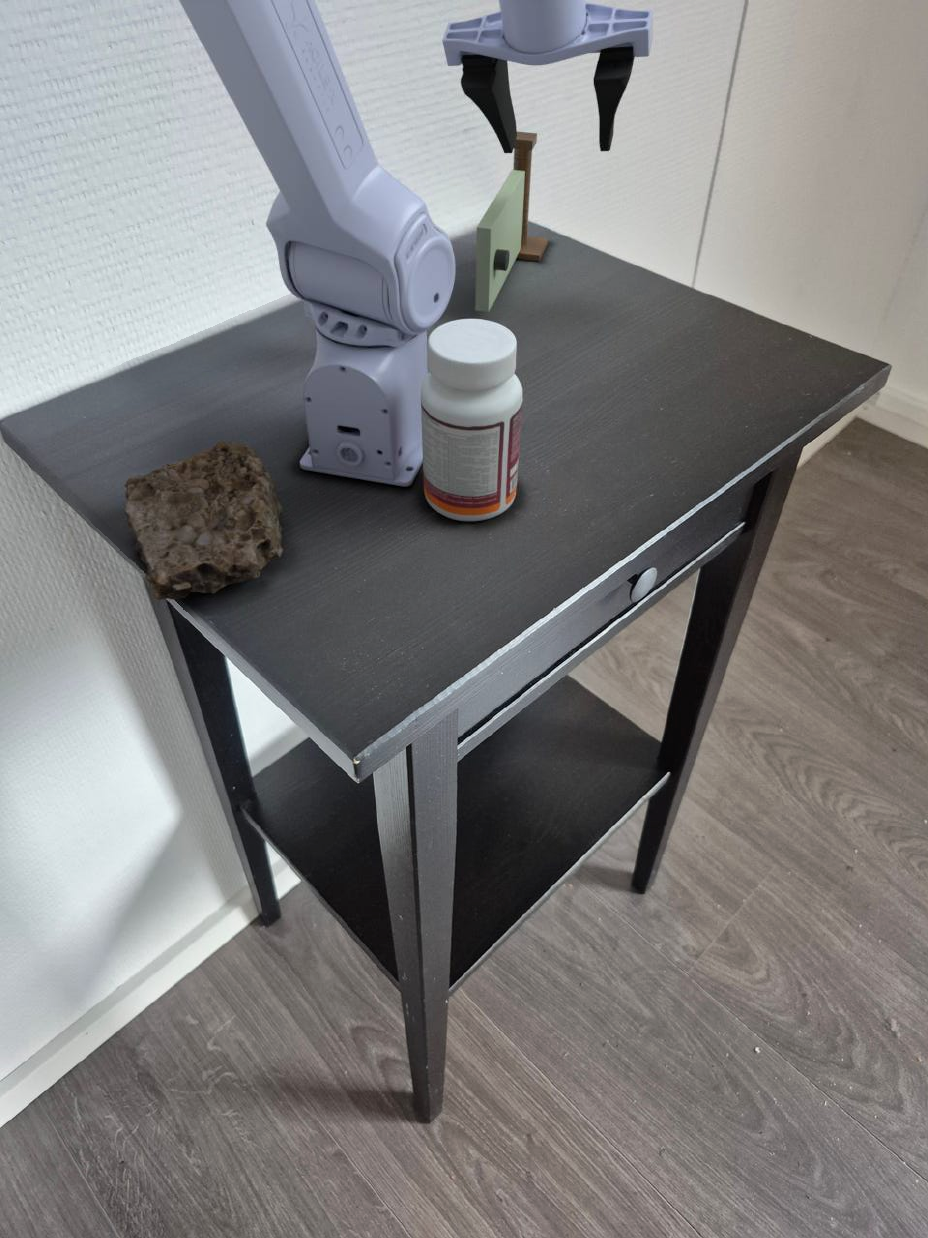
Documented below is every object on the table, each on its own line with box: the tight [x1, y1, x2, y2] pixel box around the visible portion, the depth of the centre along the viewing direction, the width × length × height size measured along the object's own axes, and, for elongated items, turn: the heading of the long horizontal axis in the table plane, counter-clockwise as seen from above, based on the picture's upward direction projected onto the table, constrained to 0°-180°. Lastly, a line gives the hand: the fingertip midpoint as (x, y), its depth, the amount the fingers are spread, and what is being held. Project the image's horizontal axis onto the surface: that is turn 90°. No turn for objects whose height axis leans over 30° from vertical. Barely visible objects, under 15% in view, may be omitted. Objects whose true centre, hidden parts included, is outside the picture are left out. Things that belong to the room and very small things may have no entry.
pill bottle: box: [421, 318, 524, 522], centre depth 55 cm, size 6×6×11 cm
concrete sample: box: [123, 440, 284, 600], centre depth 54 cm, size 12×10×5 cm
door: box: [474, 169, 525, 313], centre depth 77 cm, size 13×2×7 cm, turn 165°
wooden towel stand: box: [512, 131, 549, 262], centre depth 82 cm, size 4×5×10 cm
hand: (558, 143), depth 70 cm, fingers open, 7 cm apart
